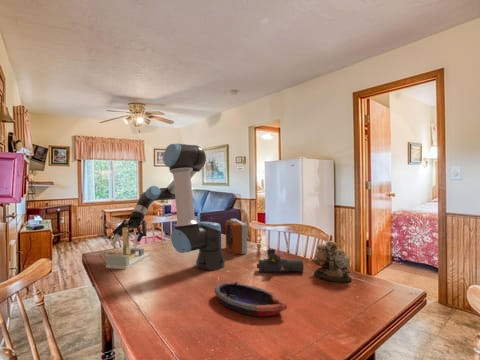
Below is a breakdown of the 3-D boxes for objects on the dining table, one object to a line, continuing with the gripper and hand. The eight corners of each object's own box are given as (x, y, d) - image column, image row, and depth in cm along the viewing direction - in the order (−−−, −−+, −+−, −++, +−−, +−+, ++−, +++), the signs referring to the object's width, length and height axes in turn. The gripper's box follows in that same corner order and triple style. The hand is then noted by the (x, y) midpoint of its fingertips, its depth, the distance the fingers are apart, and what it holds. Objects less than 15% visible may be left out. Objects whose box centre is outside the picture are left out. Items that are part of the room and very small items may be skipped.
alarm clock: (225, 247, 180) (225, 216, 179) (238, 246, 182) (238, 216, 182) (233, 255, 162) (232, 221, 162) (247, 254, 165) (246, 220, 164)
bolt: (130, 256, 157) (130, 225, 157) (135, 256, 156) (135, 225, 156) (117, 263, 145) (116, 229, 145) (122, 263, 144) (121, 229, 144)
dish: (230, 288, 116) (230, 276, 116) (295, 310, 96) (295, 296, 96) (204, 301, 104) (203, 288, 104) (271, 330, 84) (271, 314, 84)
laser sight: (304, 275, 130) (304, 254, 130) (257, 275, 130) (257, 255, 130) (300, 268, 140) (300, 249, 139) (256, 268, 140) (256, 249, 140)
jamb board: (131, 255, 165) (130, 244, 165) (149, 256, 162) (148, 245, 162) (106, 267, 143) (105, 255, 143) (126, 269, 141) (126, 256, 141)
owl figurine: (307, 277, 127) (307, 240, 127) (317, 270, 137) (316, 236, 137) (347, 286, 117) (347, 246, 117) (354, 277, 126) (354, 241, 126)
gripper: (159, 218, 162) (146, 250, 148) (122, 217, 167) (106, 248, 153) (155, 210, 157) (141, 243, 143) (117, 210, 162) (99, 241, 148)
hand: (123, 246), depth 148 cm, fingers open, 13 cm apart
